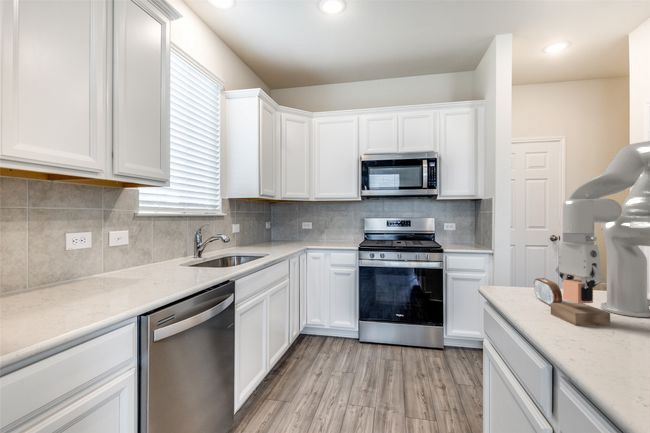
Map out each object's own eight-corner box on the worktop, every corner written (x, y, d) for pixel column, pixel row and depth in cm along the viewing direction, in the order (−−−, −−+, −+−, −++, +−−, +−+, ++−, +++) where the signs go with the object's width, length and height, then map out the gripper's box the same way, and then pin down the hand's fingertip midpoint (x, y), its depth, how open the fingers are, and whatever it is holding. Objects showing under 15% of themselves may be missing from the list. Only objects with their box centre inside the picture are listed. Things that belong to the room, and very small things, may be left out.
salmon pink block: (577, 298, 97) (577, 279, 97) (592, 302, 92) (593, 283, 92) (563, 298, 96) (563, 279, 96) (578, 303, 91) (578, 283, 91)
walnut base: (581, 315, 99) (581, 302, 99) (610, 326, 89) (610, 313, 89) (550, 315, 99) (550, 303, 99) (575, 326, 89) (575, 313, 89)
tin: (563, 309, 104) (563, 284, 104) (552, 309, 104) (552, 284, 104) (541, 297, 118) (541, 275, 118) (532, 297, 119) (532, 275, 119)
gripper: (618, 241, 86) (618, 306, 86) (564, 237, 103) (563, 291, 103) (595, 241, 85) (594, 307, 85) (543, 237, 102) (543, 291, 102)
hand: (577, 297), depth 94 cm, fingers closed on salmon pink block, 4 cm apart
